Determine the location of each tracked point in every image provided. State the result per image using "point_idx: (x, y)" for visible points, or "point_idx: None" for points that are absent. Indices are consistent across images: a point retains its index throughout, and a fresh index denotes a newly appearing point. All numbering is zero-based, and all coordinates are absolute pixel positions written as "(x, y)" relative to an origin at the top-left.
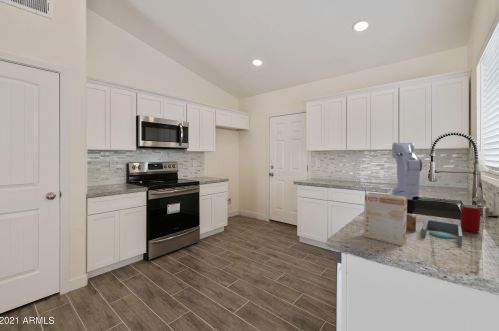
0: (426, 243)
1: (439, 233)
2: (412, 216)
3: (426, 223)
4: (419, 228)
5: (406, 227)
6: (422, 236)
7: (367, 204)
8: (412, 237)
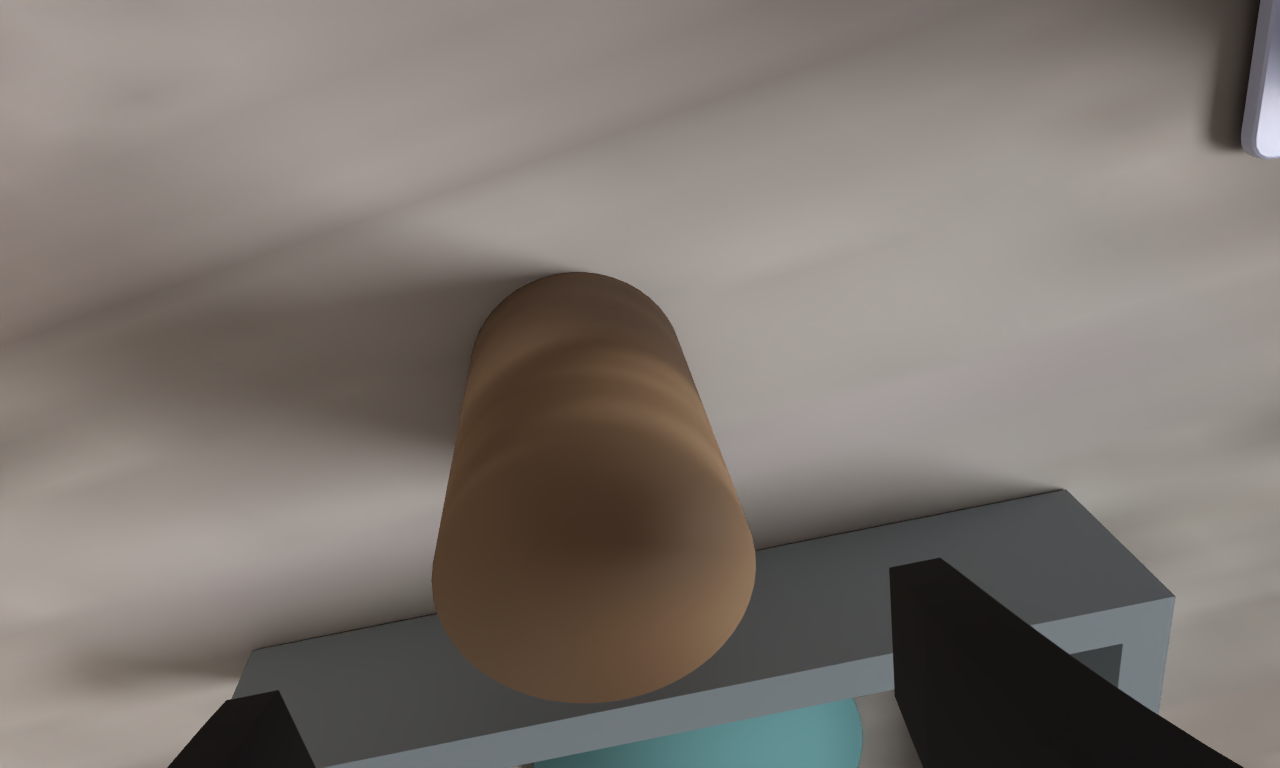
0: (17, 760)
1: (743, 732)
2: (580, 630)
3: (752, 706)
4: (864, 448)
5: (475, 363)
6: (243, 673)
7: None
8: (100, 556)
